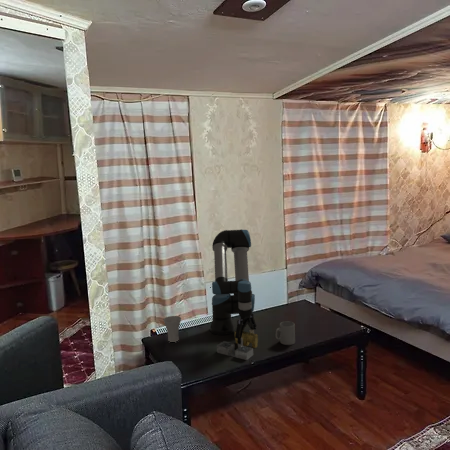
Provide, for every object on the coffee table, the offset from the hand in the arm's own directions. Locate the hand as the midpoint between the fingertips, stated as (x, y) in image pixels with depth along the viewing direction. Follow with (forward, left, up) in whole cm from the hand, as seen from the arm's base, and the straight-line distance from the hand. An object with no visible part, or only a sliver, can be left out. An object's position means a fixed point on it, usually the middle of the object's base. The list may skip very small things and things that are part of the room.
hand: (246, 344), depth 237 cm
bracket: (0, -13, 0) cm, 13 cm away
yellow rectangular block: (0, 0, 0) cm, 0 cm away
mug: (+18, +13, 0) cm, 22 cm away
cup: (-41, -16, 0) cm, 44 cm away
